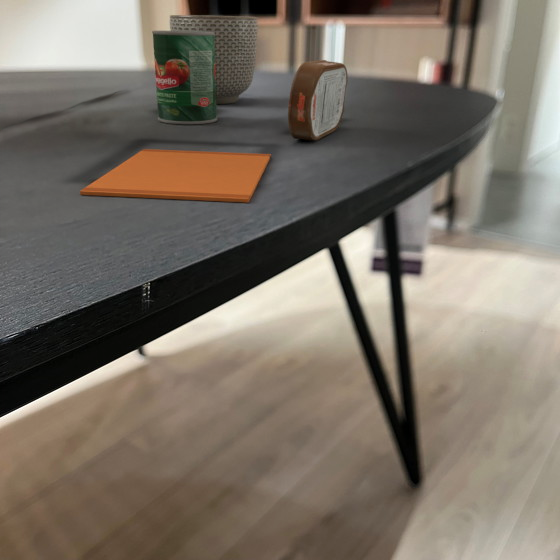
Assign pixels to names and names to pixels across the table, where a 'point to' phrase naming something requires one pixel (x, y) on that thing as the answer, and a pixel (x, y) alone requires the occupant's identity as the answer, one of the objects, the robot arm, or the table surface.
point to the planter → (226, 50)
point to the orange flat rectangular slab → (183, 176)
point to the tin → (317, 99)
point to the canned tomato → (185, 76)
